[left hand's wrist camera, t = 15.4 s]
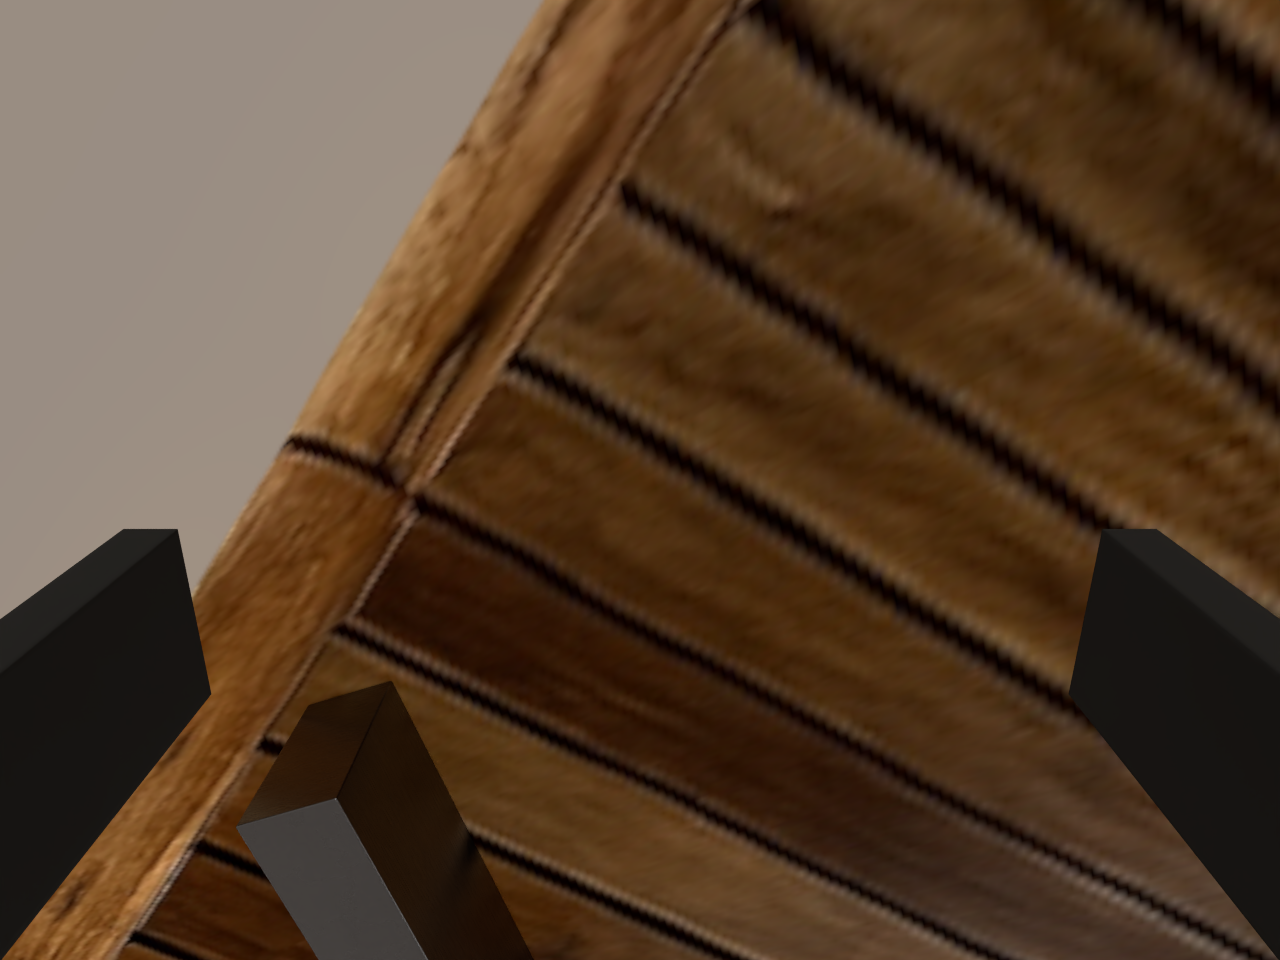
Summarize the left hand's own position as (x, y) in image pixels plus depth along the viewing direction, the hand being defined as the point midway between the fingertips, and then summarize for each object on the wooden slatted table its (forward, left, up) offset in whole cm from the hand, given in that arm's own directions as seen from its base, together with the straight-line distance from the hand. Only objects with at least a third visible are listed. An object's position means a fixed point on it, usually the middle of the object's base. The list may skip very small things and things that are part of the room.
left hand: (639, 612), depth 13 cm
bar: (-7, +34, -28) cm, 44 cm away
